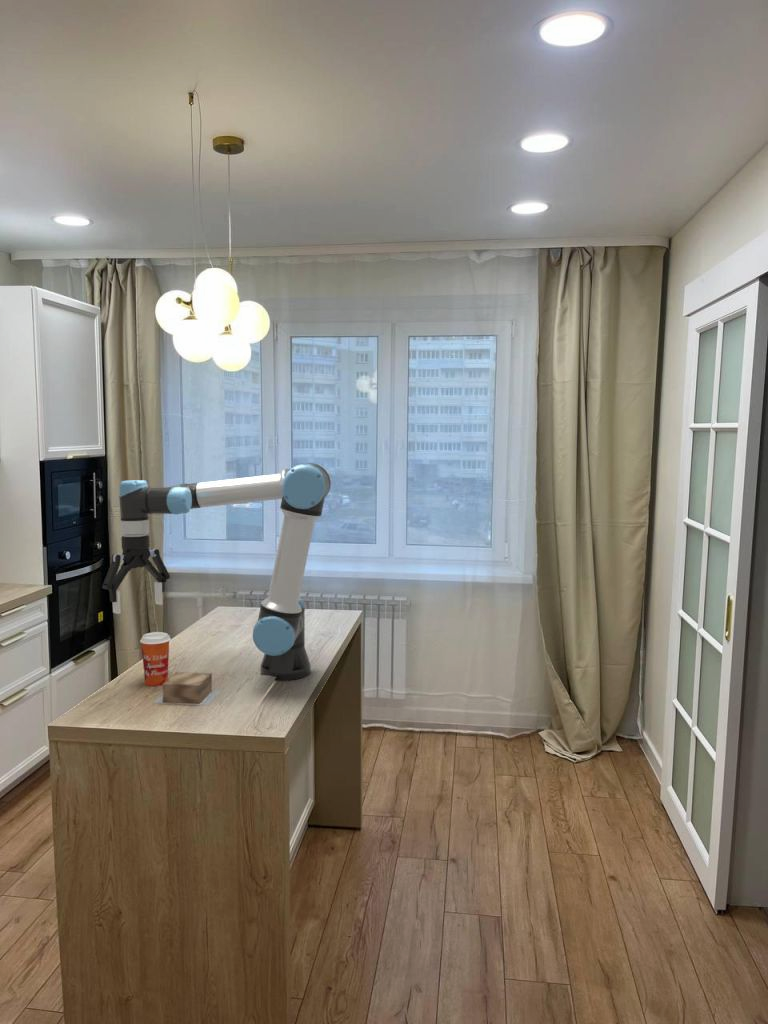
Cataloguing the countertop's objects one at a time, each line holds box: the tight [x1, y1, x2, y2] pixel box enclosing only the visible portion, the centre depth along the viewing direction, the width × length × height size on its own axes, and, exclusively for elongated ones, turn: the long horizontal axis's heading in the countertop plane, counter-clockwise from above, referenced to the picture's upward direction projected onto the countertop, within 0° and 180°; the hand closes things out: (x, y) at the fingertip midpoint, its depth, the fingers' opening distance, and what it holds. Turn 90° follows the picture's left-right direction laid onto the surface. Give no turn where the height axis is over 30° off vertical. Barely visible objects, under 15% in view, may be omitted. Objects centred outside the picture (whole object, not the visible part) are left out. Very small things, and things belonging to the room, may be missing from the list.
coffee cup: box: [139, 631, 172, 687], centre depth 208 cm, size 8×8×15 cm
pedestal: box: [162, 671, 213, 704], centre depth 197 cm, size 10×10×5 cm
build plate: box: [152, 689, 222, 706], centre depth 197 cm, size 15×11×1 cm
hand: (138, 608), depth 208 cm, fingers open, 13 cm apart
